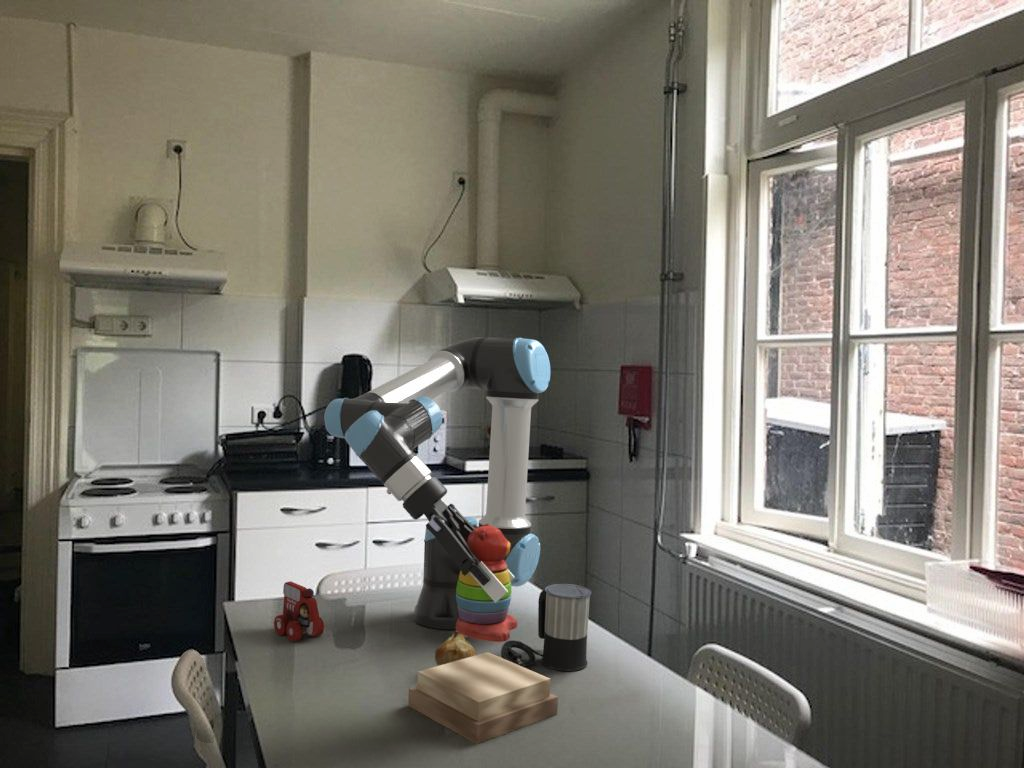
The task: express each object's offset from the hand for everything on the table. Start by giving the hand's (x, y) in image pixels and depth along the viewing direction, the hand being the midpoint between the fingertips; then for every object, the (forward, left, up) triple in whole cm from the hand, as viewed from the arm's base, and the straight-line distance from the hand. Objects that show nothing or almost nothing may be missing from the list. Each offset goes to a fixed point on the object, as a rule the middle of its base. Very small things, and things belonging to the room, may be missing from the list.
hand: (505, 589), depth 140 cm
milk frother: (-23, -12, -21) cm, 33 cm away
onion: (-5, -19, -21) cm, 29 cm away
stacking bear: (+2, -2, -7) cm, 8 cm away
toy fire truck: (+8, -55, -21) cm, 59 cm away
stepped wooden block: (+2, -3, -21) cm, 21 cm away
